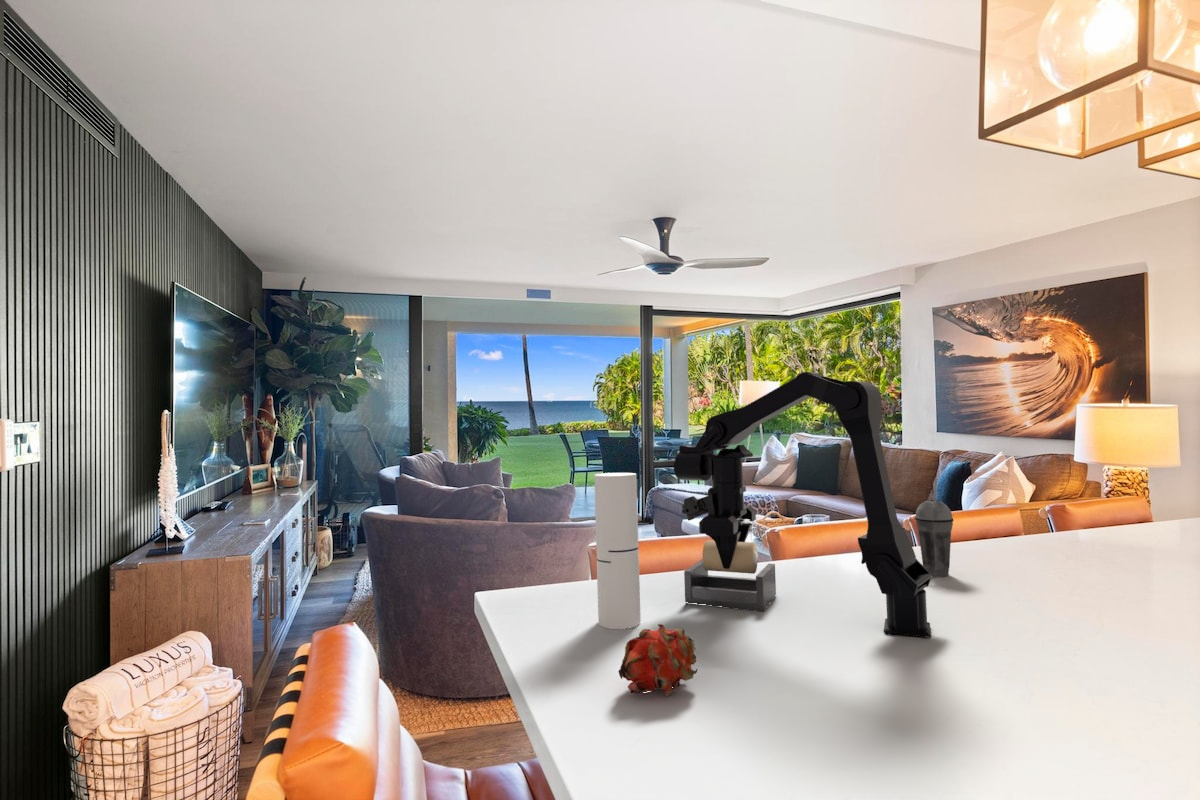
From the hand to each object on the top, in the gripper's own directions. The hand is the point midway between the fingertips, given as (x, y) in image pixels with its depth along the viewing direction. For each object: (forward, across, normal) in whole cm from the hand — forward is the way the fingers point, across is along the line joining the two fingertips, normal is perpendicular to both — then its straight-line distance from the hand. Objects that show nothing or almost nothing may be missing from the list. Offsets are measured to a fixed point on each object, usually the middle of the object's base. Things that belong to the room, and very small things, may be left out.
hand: (730, 565), depth 124 cm
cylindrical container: (+7, +20, -14) cm, 25 cm away
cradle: (+6, 0, 0) cm, 6 cm away
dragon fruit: (+7, +44, +2) cm, 45 cm away
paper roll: (+1, 0, 0) cm, 1 cm away
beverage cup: (+7, -33, +35) cm, 49 cm away
